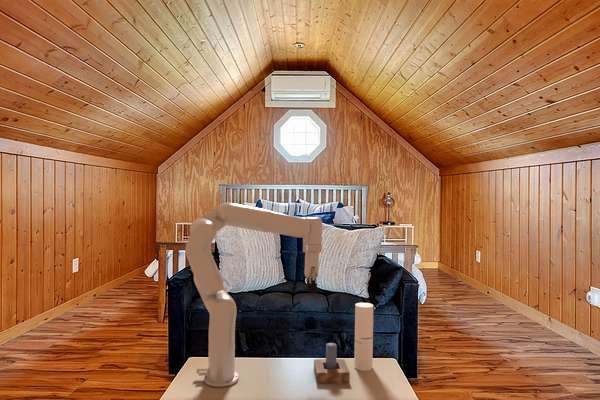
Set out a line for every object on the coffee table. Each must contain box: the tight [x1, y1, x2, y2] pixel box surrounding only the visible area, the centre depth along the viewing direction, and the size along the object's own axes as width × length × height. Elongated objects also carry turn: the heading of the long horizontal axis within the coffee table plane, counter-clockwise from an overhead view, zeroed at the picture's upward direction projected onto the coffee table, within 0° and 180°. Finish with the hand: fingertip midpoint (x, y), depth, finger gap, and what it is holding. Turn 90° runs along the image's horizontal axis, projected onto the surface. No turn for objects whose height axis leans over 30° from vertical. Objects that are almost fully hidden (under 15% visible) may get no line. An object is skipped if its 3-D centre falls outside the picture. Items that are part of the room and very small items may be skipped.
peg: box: [325, 342, 338, 369], centre depth 159 cm, size 4×4×12 cm
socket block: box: [313, 358, 351, 385], centre depth 159 cm, size 12×12×4 cm
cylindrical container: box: [353, 302, 374, 372], centre depth 168 cm, size 7×7×25 cm
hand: (311, 290), depth 168 cm, fingers open, 9 cm apart
